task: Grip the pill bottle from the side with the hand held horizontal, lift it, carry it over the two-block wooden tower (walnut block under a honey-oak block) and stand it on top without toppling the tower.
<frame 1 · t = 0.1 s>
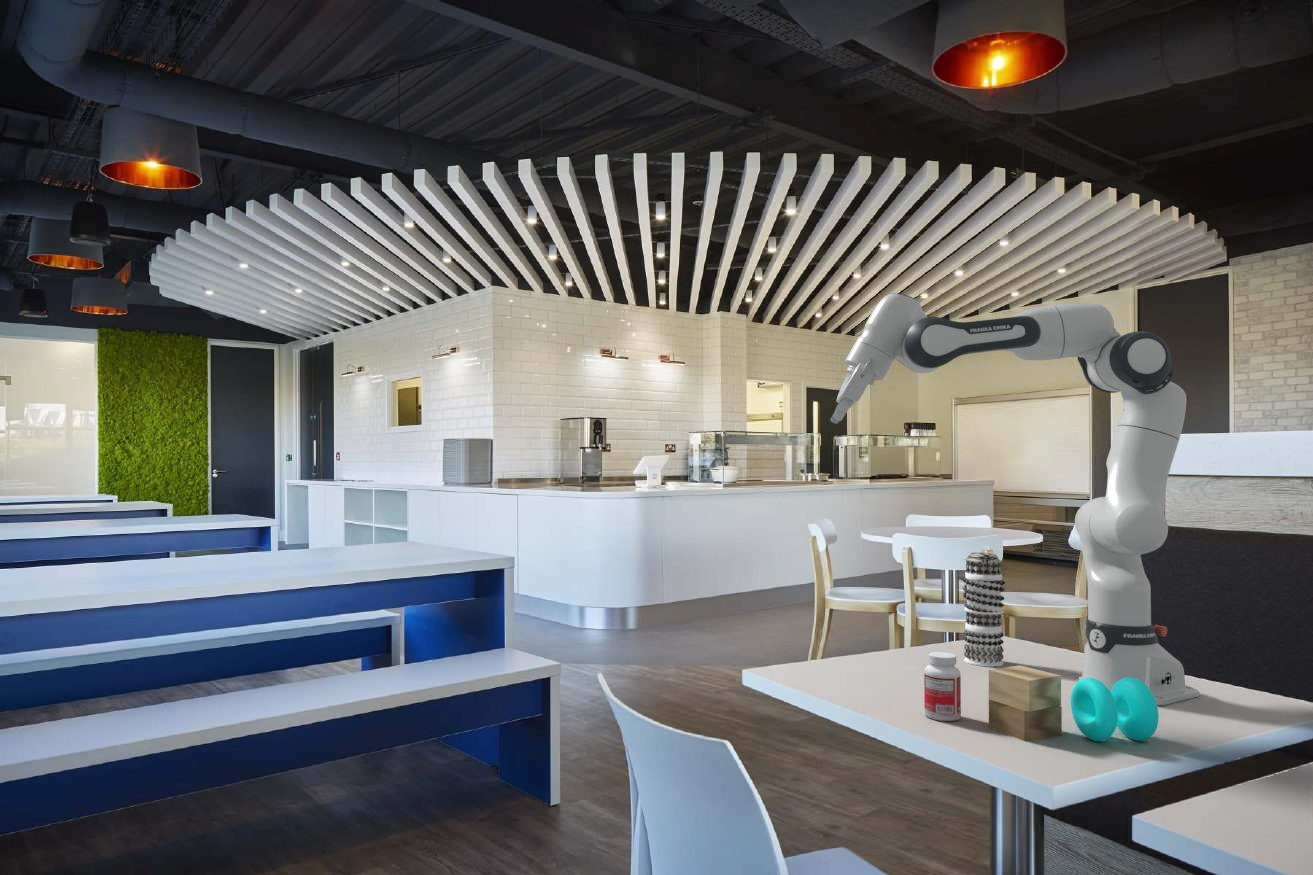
hand: (835, 421, 176), 54 cm above the table, tool tilted 30°, fingers open, 8 cm apart
decorative candle: (983, 663, 192), on the table
pill bottle: (942, 718, 148), on the table
tower top: (1024, 702, 141), point 5 cm above the table, touching tower base
turquoise spool: (1113, 740, 137), on the table
tower base: (1024, 732, 141), on the table, touching tower top
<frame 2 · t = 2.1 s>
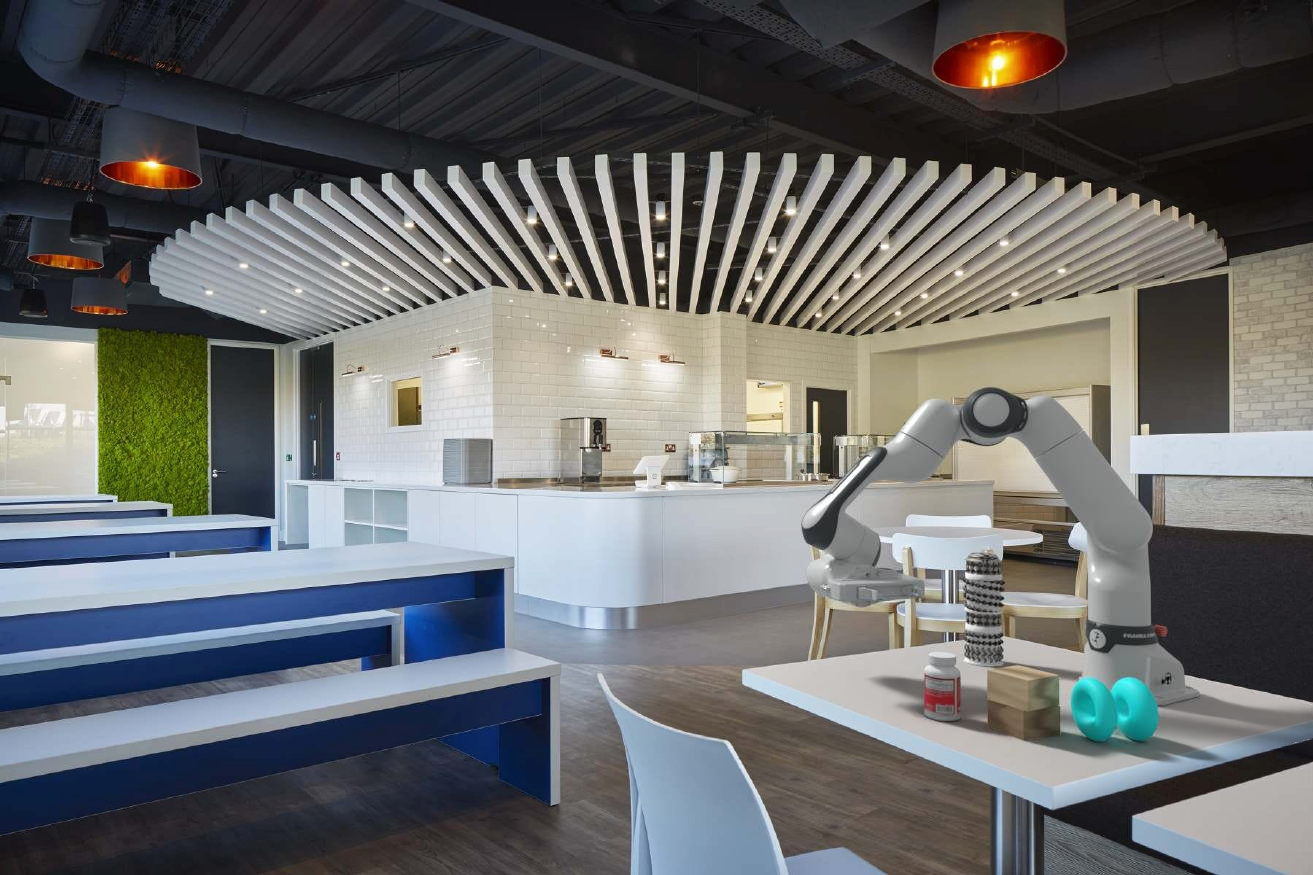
hand: (900, 594, 160), 20 cm above the table, tool horizontal, fingers open, 8 cm apart
nothing on the table moved.
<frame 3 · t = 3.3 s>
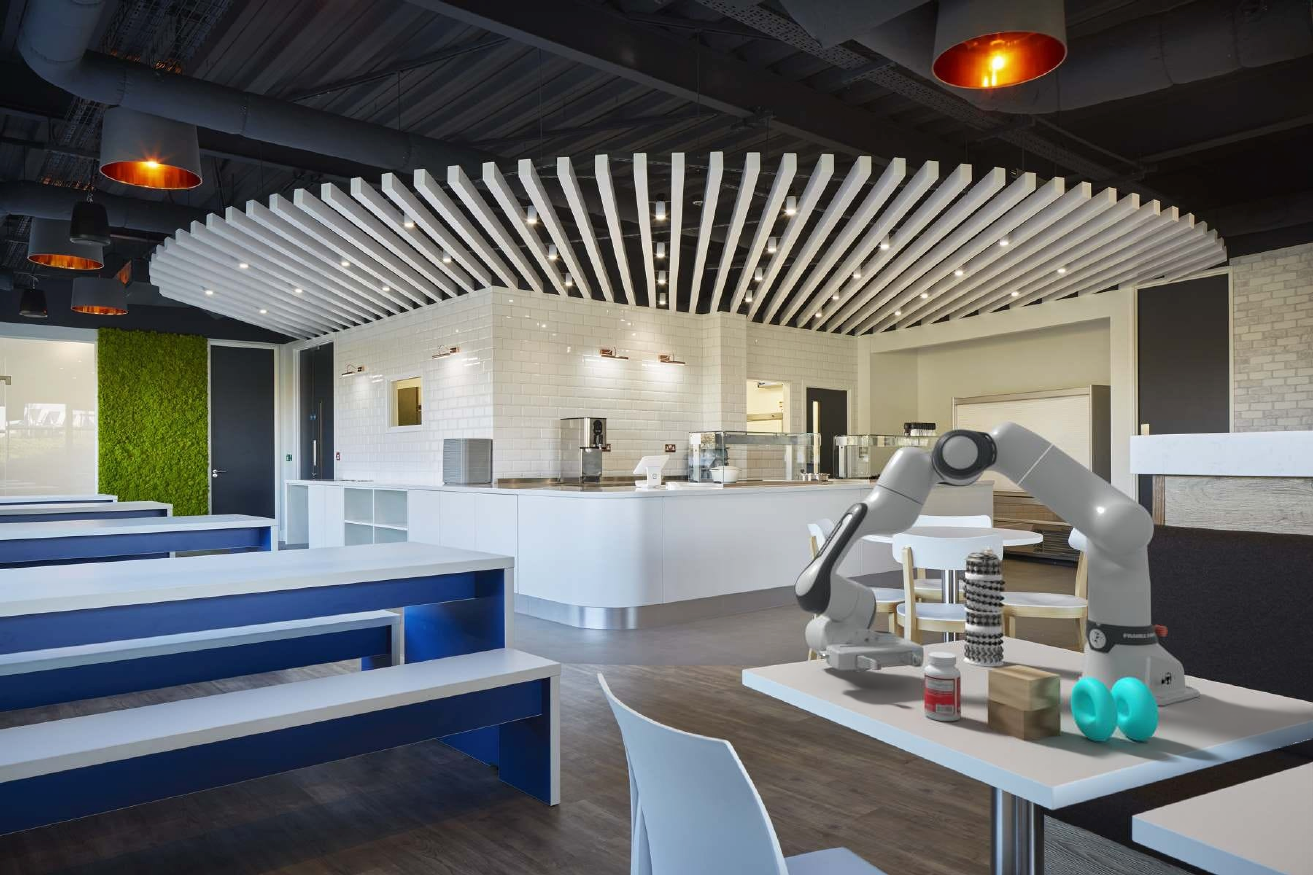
hand: (898, 664, 160), 7 cm above the table, tool horizontal, fingers open, 8 cm apart
nothing on the table moved.
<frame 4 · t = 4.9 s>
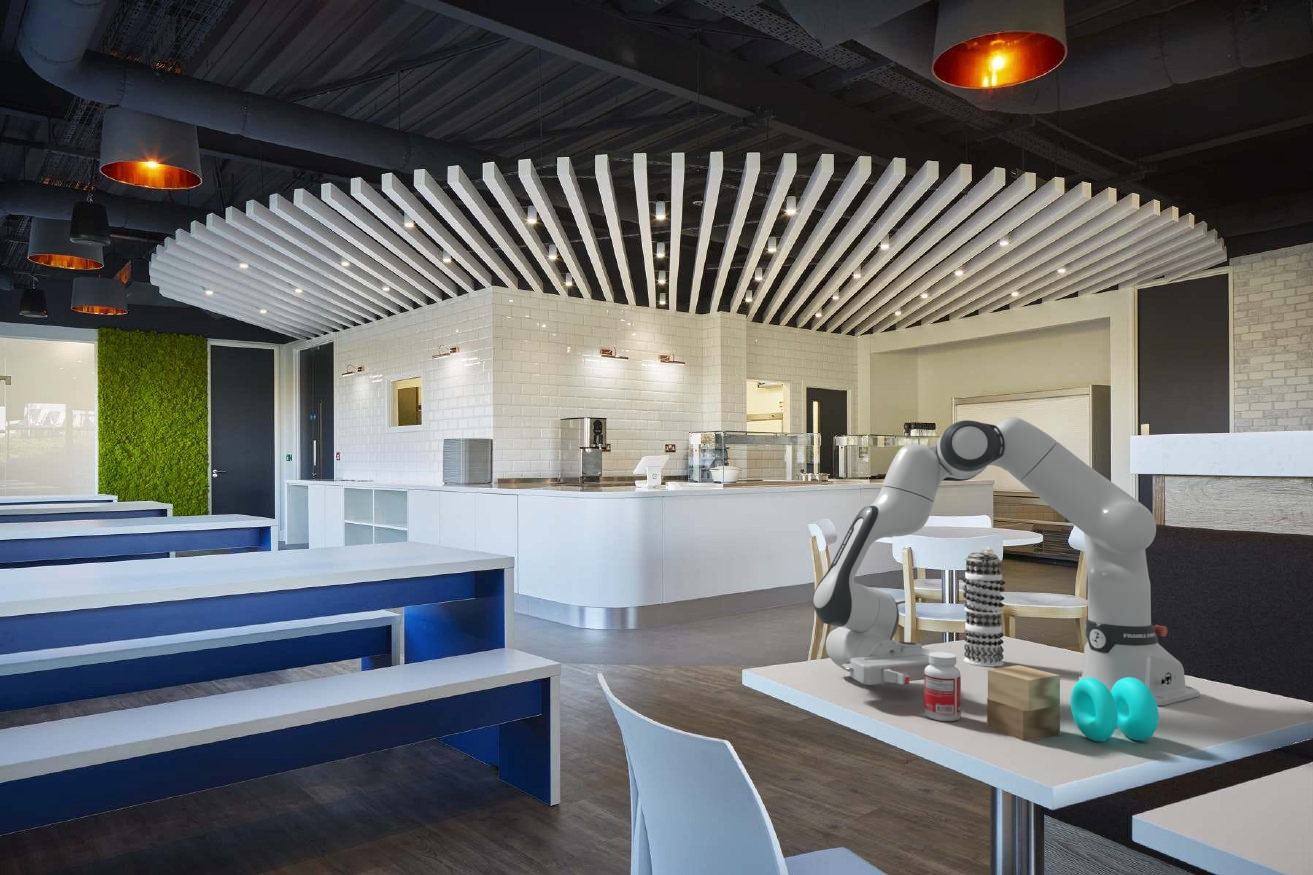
hand: (927, 677, 152), 6 cm above the table, tool horizontal, fingers open, 8 cm apart
tower top: (1023, 702, 141), point 5 cm above the table
tower base: (1023, 731, 141), on the table
everything else where it was.
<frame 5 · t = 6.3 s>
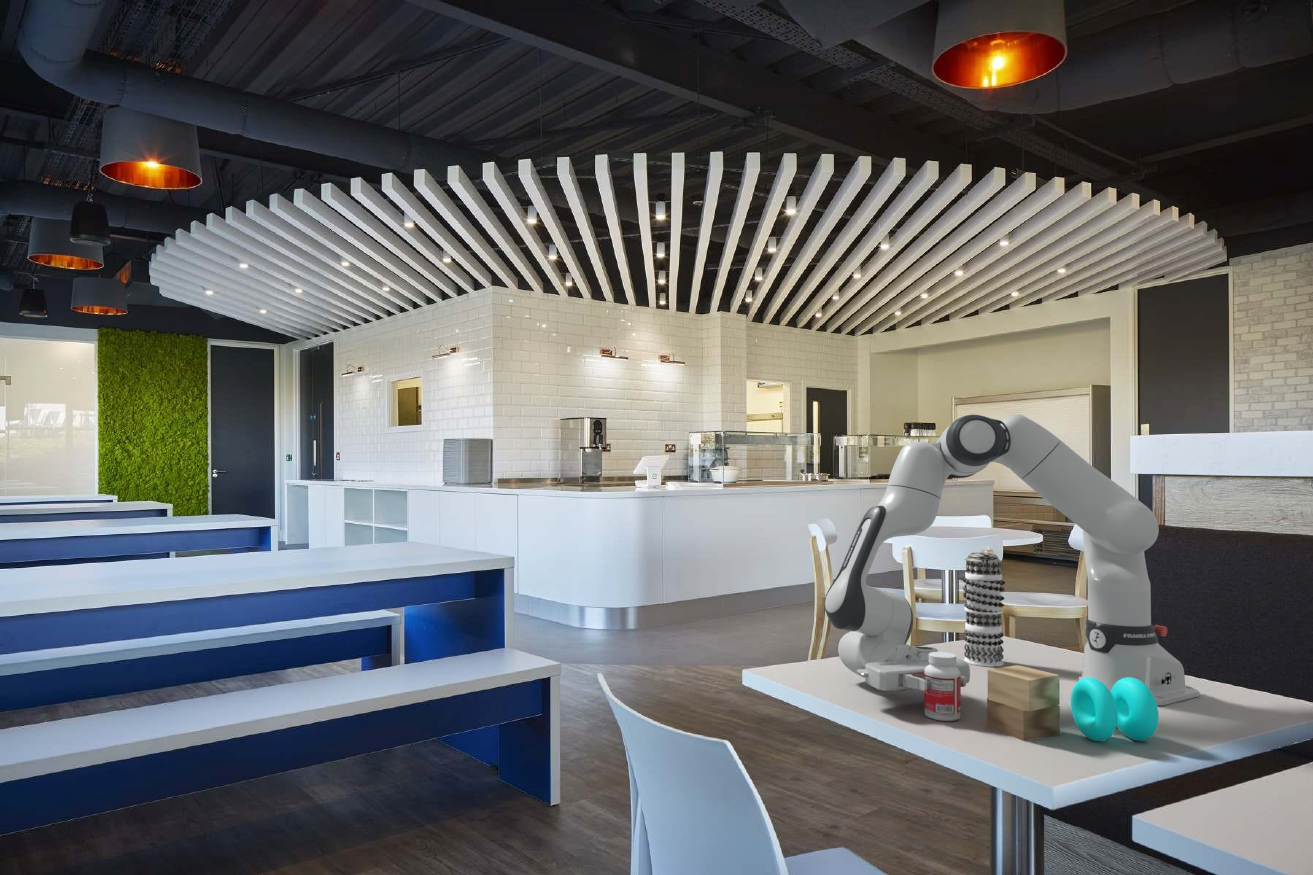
hand: (945, 683, 148), 6 cm above the table, tool horizontal, fingers closed on pill bottle, 6 cm apart
pill bottle: (942, 717, 148), on the table, touching gripper
tower top: (1023, 702, 141), point 5 cm above the table, touching tower base
tower base: (1022, 731, 141), on the table, touching tower top
everything else where it was.
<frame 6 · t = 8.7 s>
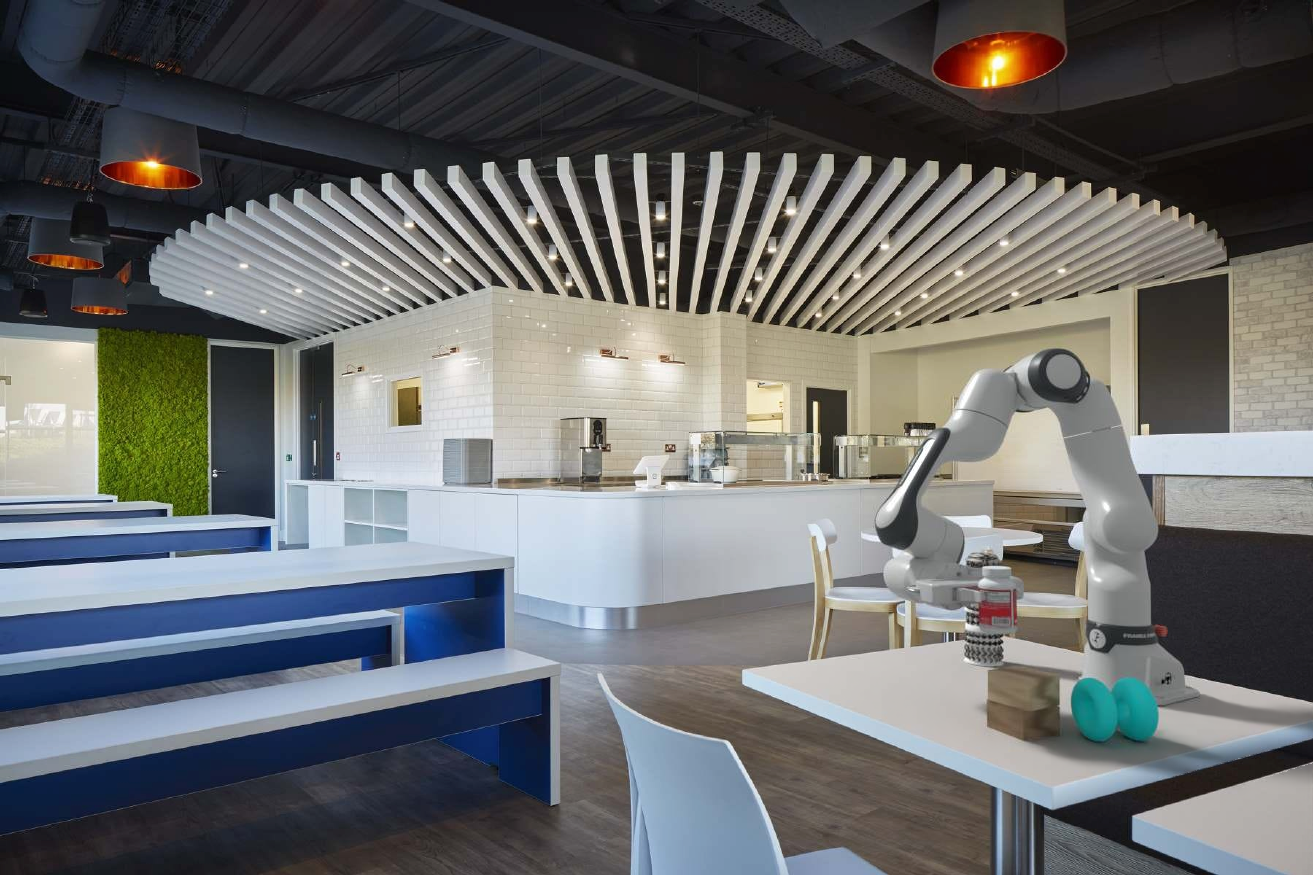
hand: (1001, 595, 143), 22 cm above the table, tool horizontal, fingers closed on pill bottle, 6 cm apart
pill bottle: (998, 632, 144), point 16 cm above the table, touching gripper
everything else where it was.
when the fingers open (17 cm above the table, at t = 10.9 s): pill bottle drops 1 cm, resting on tower top.
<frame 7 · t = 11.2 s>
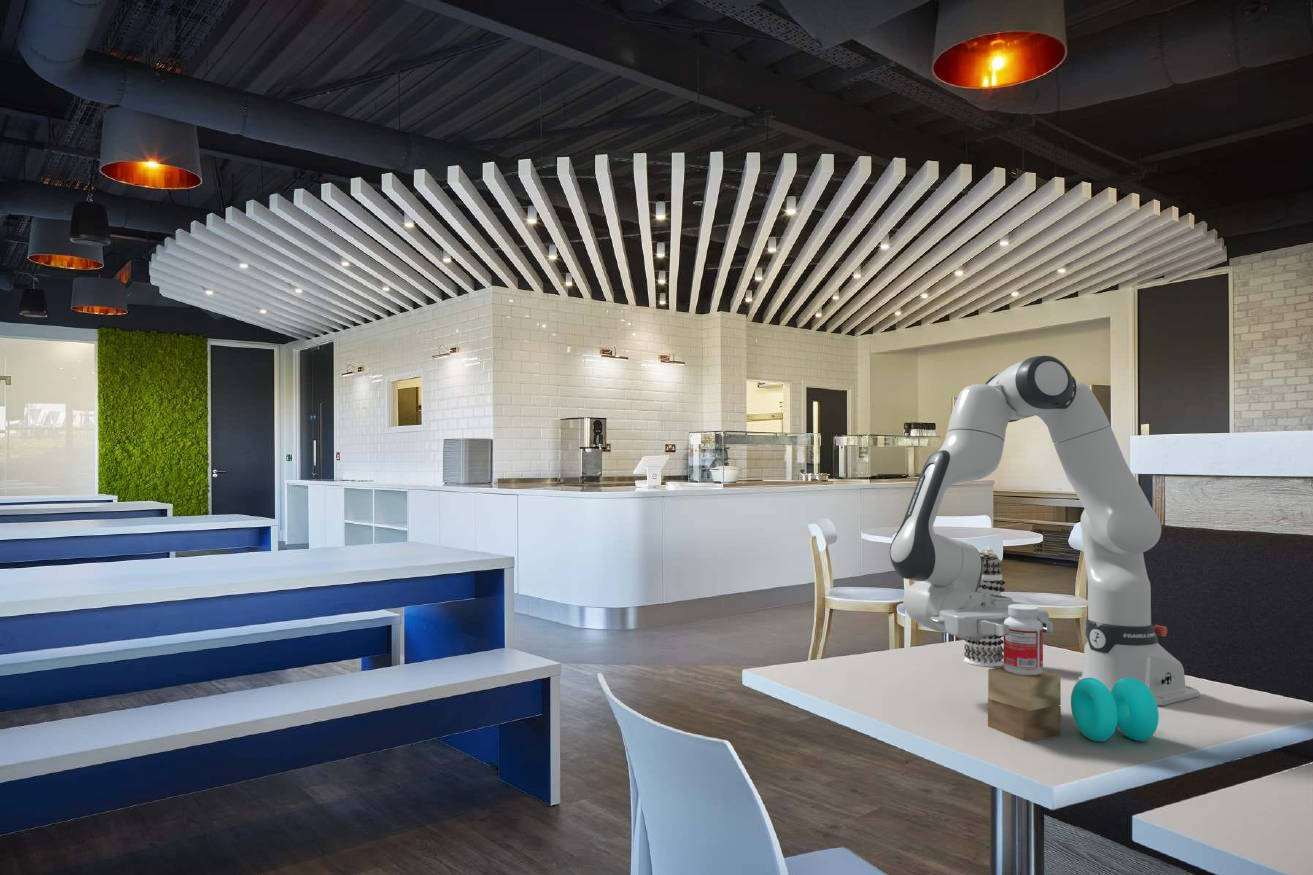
hand: (1028, 629, 141), 17 cm above the table, tool horizontal, fingers open, 8 cm apart
pill bottle: (1023, 672, 141), point 10 cm above the table, touching tower top
tower top: (1024, 701, 141), point 5 cm above the table, touching pill bottle, tower base
everything else where it was.
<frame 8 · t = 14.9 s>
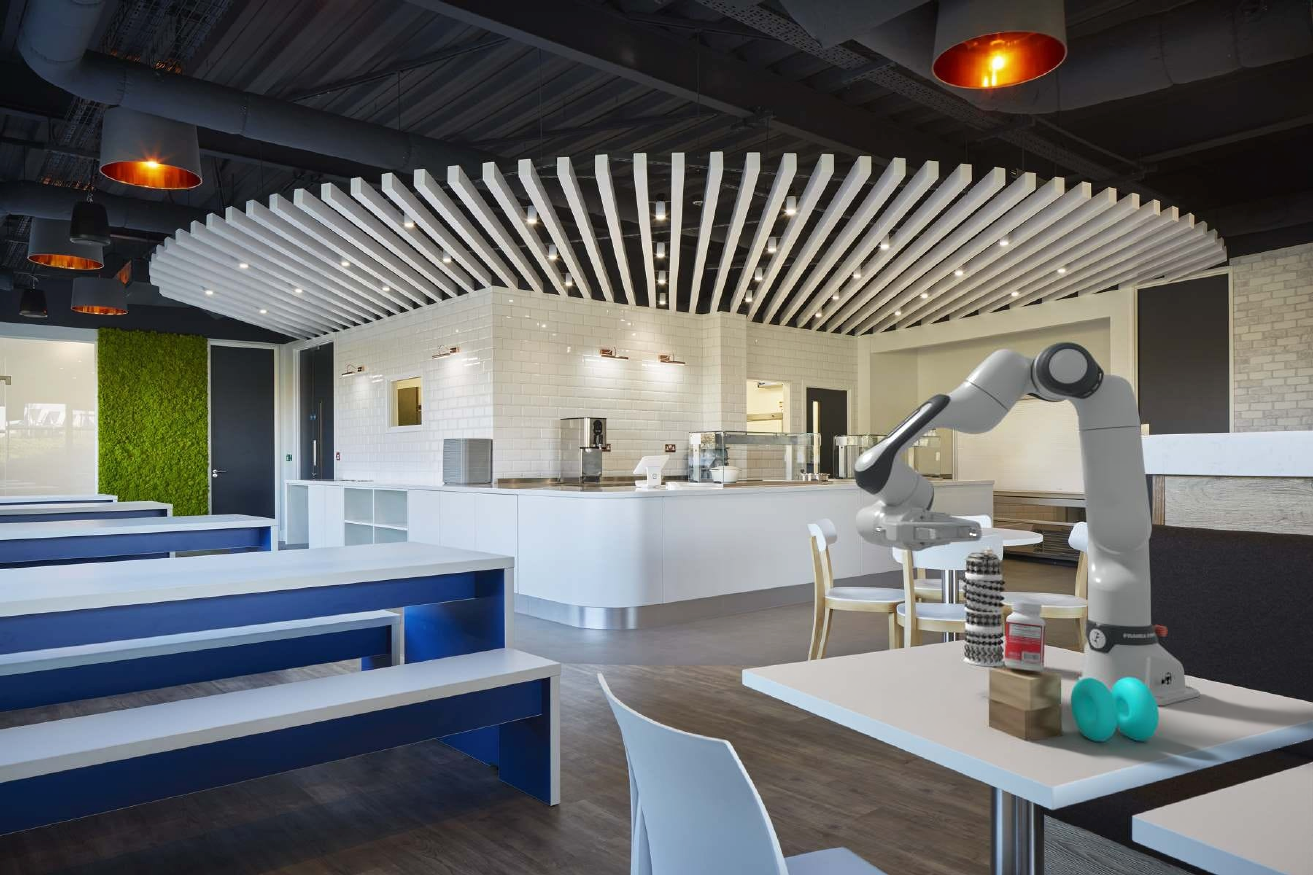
hand: (958, 534, 157), 32 cm above the table, tool horizontal, fingers open, 8 cm apart
at the end: pill bottle 0.3 cm off-centre on the tower top, point 5.3 cm above the tower top's base; pill bottle tilted 10°; tower top 0.1 cm off-centre on the tower base, point 5.0 cm above the tower base's base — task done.
